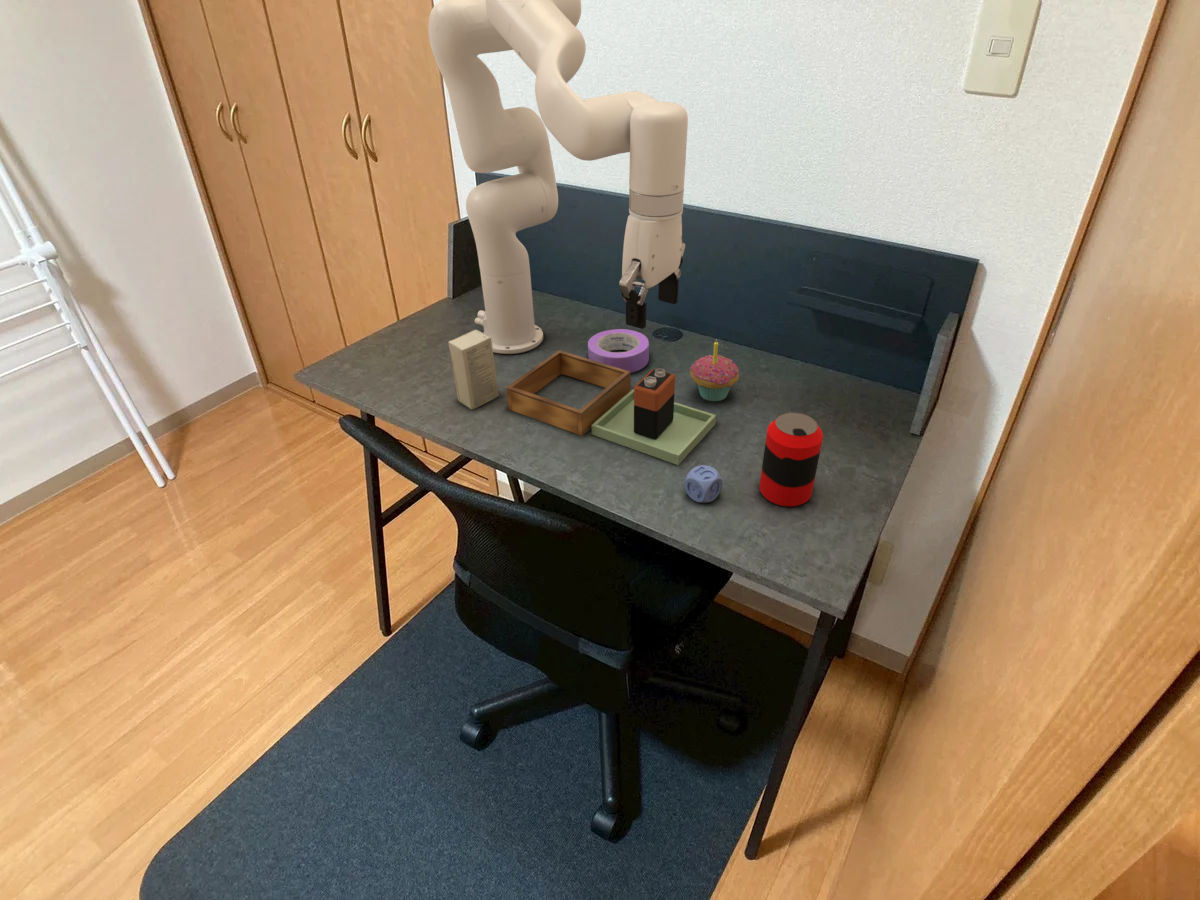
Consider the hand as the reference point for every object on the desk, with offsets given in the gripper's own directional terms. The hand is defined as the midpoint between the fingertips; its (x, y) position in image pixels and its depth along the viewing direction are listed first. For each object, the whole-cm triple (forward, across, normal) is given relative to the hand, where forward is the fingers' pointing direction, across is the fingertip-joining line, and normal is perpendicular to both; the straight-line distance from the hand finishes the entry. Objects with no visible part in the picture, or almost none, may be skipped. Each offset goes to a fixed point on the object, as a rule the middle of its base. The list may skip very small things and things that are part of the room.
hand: (652, 313), depth 110 cm
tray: (+20, +2, +2) cm, 20 cm away
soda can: (+20, +6, +27) cm, 34 cm away
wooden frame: (+20, +2, -15) cm, 25 cm away
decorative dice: (+20, +13, +17) cm, 29 cm away
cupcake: (+20, -13, +6) cm, 25 cm away
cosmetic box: (+21, +10, -29) cm, 37 cm away
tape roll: (+20, -15, -16) cm, 30 cm away
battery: (+20, +2, +2) cm, 20 cm away
